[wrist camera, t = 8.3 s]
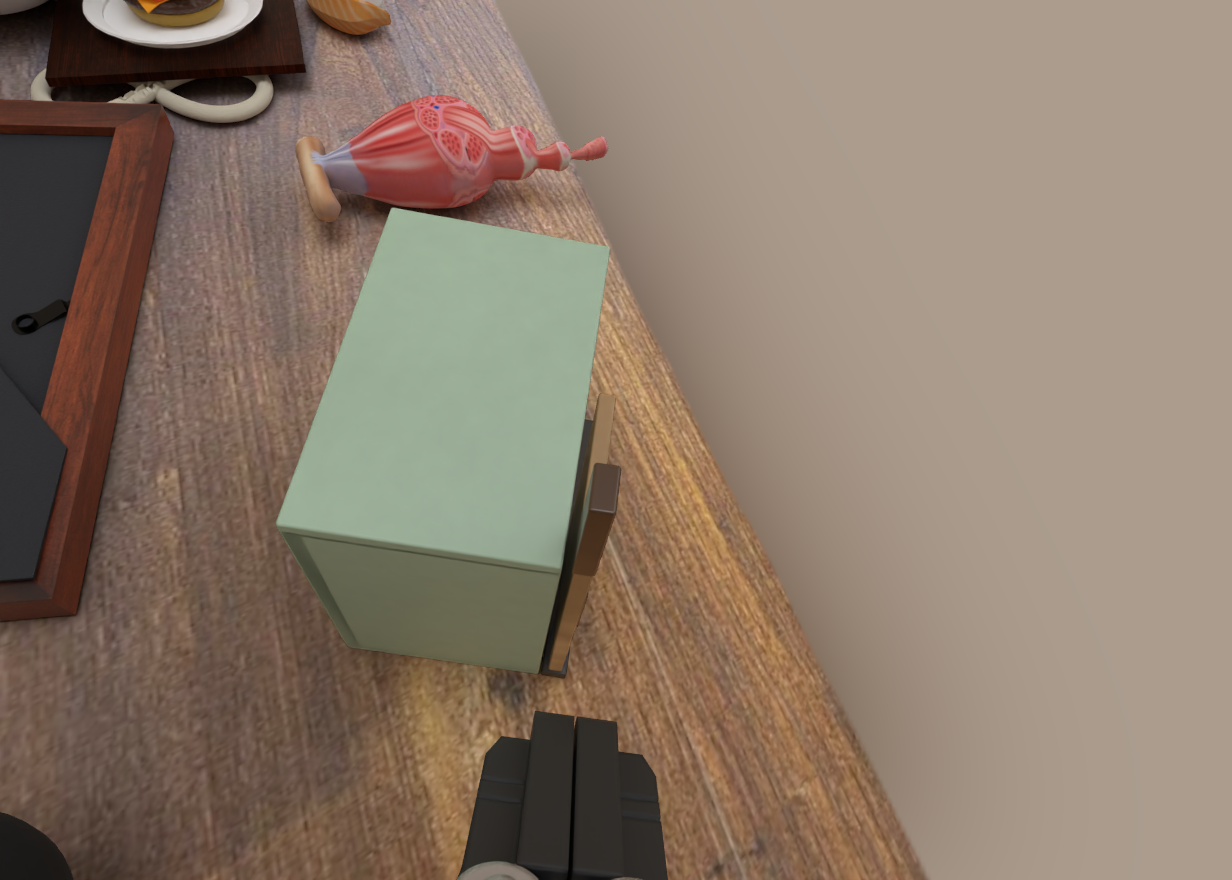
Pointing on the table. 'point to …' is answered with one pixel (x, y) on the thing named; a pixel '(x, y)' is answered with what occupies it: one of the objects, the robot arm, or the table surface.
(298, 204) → the table surface
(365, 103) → the table surface
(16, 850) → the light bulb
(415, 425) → the box
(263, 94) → the decorative object
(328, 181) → the anatomical model
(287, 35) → the hamburger
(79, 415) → the picture frame
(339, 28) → the sushi
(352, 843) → the table surface
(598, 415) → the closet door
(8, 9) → the decorative ball
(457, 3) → the table surface
